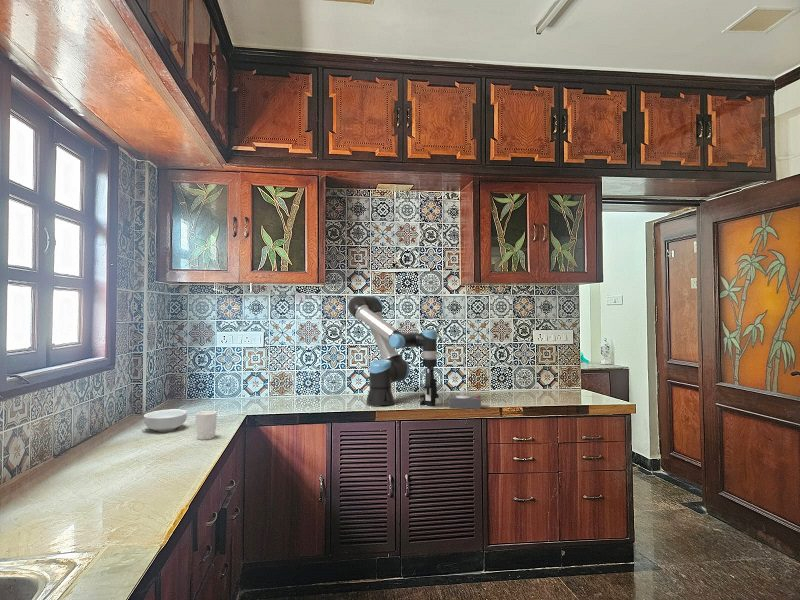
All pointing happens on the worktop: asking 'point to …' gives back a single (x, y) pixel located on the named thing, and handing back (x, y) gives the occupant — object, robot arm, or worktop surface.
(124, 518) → the worktop surface
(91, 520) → the worktop surface
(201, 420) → the white cup
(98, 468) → the worktop surface
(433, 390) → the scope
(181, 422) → the cereal bowl
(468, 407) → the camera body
